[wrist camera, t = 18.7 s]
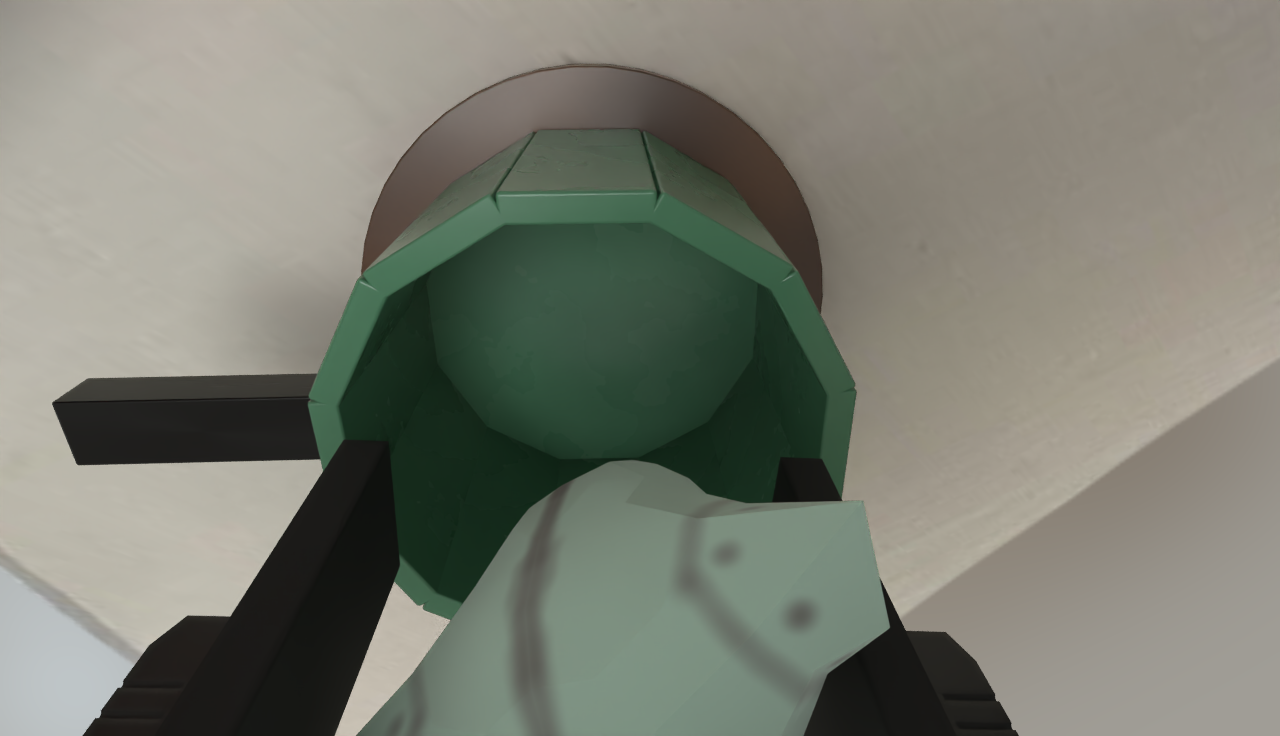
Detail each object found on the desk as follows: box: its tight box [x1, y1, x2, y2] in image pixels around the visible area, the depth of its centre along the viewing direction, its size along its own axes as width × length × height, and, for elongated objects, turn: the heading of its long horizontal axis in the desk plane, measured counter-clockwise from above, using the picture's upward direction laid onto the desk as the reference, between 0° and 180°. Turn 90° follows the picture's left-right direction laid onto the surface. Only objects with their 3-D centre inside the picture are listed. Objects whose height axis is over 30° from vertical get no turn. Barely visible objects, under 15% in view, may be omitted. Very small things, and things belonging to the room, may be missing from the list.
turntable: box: [361, 64, 823, 314], centre depth 22 cm, size 14×14×1 cm
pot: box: [52, 129, 857, 620], centre depth 18 cm, size 11×17×8 cm, turn 90°
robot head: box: [356, 460, 890, 736], centre depth 10 cm, size 8×4×7 cm, turn 123°
